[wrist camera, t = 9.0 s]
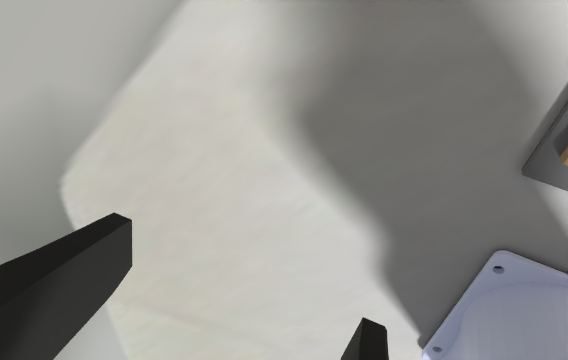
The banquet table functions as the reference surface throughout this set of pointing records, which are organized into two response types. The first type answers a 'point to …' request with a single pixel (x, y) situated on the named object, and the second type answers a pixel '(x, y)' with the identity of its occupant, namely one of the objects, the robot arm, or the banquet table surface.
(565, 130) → the mat
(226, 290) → the banquet table surface
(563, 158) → the lid
